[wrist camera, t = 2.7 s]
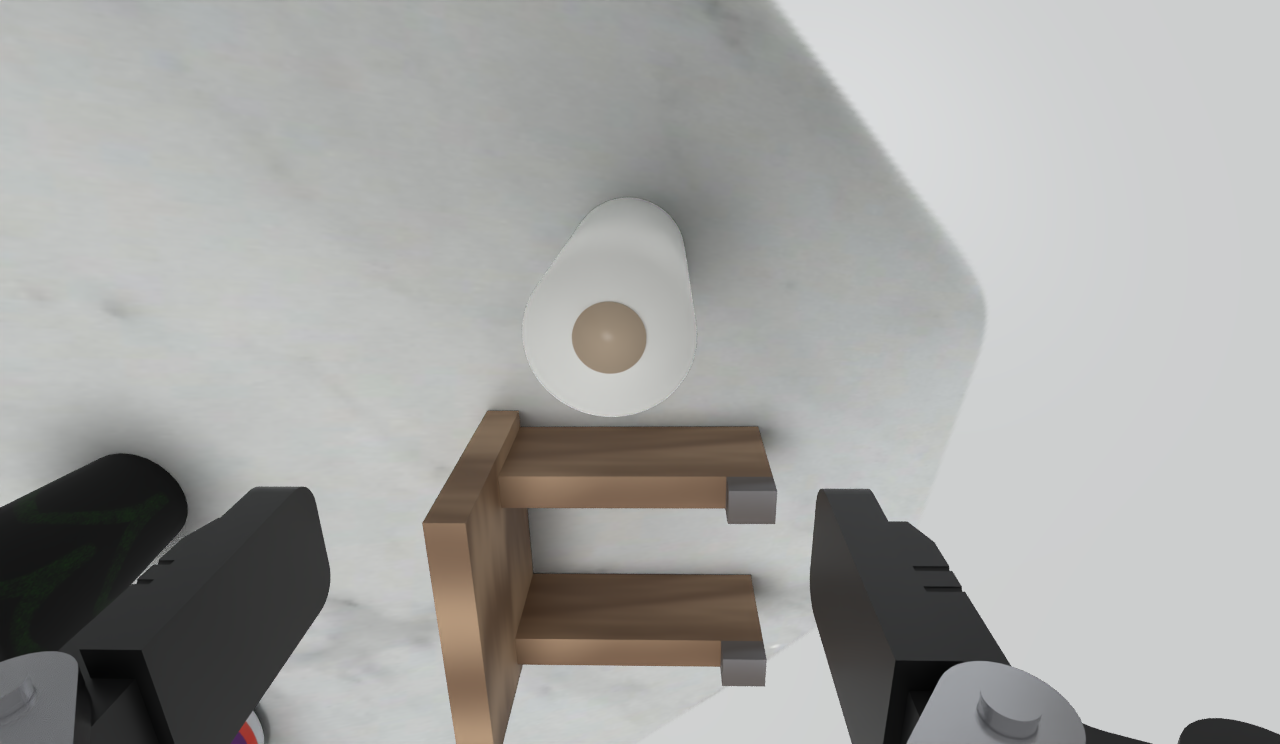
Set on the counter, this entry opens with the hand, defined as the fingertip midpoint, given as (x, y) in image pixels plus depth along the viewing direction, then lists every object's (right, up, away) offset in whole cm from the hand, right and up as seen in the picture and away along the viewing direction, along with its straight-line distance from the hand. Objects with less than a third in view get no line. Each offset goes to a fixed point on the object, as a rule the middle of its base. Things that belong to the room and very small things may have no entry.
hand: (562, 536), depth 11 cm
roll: (+1, +8, +21) cm, 22 cm away
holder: (0, -5, +26) cm, 26 cm away
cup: (-26, -4, +26) cm, 37 cm away
